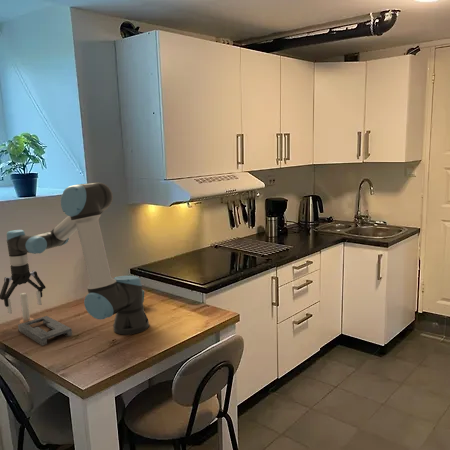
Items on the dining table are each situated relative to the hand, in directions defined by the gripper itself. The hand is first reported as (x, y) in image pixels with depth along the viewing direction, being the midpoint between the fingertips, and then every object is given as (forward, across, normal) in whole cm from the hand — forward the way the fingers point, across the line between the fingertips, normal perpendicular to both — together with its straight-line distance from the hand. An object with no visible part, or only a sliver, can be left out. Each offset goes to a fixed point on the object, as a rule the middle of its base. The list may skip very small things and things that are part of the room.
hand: (25, 308), depth 206 cm
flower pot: (+7, -42, +25) cm, 49 cm away
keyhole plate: (+7, 0, +19) cm, 20 cm away
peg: (+7, 0, 0) cm, 7 cm away
